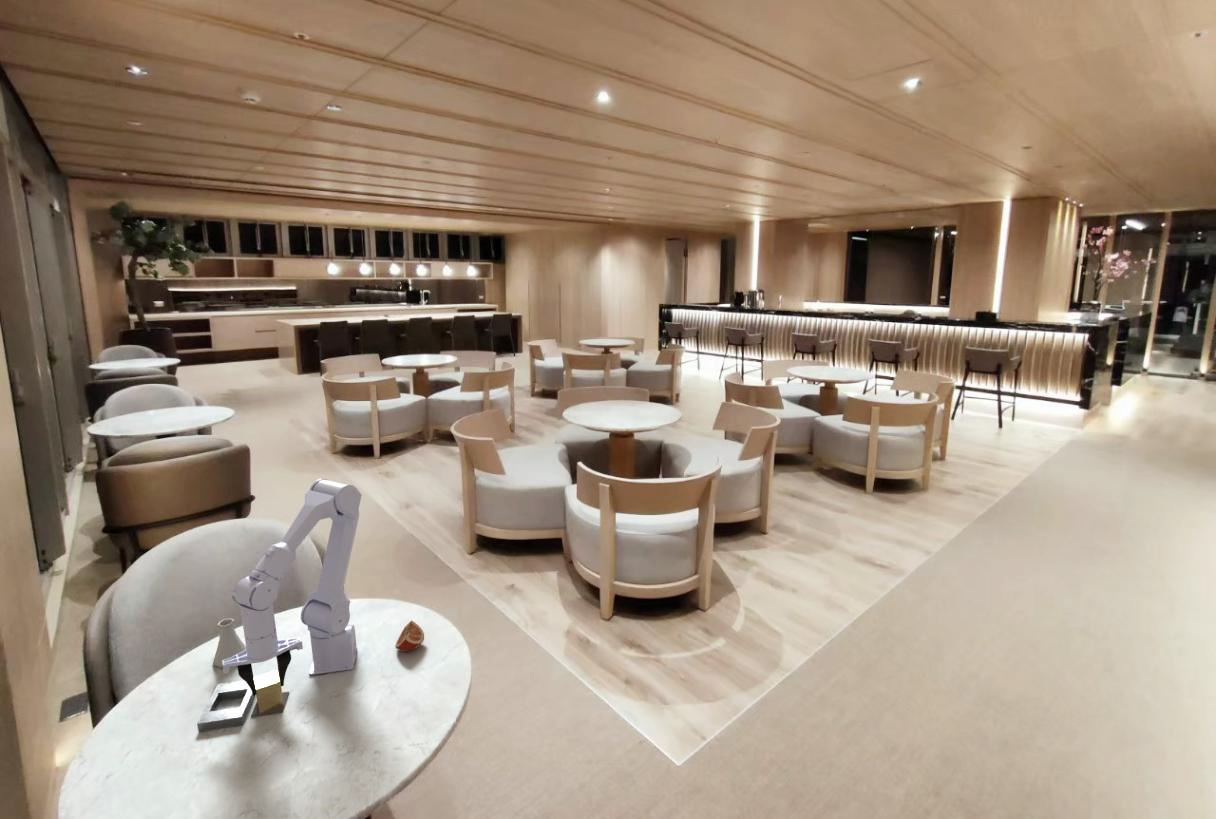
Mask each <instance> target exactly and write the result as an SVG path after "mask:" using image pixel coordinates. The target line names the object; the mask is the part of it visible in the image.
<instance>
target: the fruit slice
mask: <svg viewBox="0 0 1216 819" xmlns="http://www.w3.org/2000/svg"><path fill="white" fill-rule="evenodd" d="M424 641H425V632H424V631H423V629H422V628H421V626H419V624H417V622H415V621H413V620H410V621H409V622H408V623H407V624H406V625H405V626H404V628H403V629H402V631H401V633H400V635H399V637H398V639H397V640H396V642H395V648H396V649H397V650H399V651H401V652H409V651H410V652H411V651H412V650H414V649H416V648H418V647H419V646H421V644H422V643H423V642H424Z"/></svg>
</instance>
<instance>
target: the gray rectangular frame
mask: <svg viewBox="0 0 1216 819" xmlns="http://www.w3.org/2000/svg"><path fill="white" fill-rule="evenodd" d="M242 698H243V699H242ZM255 698H256V695H255V696H253V693H252V691H251V689H250V687H249V686H248V684H247V683H246V682H245V681H244V680H237V681H231V682H225V683H217V685H216V687H215V689H214V691H213V692H212V694H211V696H210V698H209V700H208V701H207V704H206V705H205V708H204V709H203V712H202V713H201V715H200V718H199V719H198V721H197V723H196V725H197V731H198V733H202V732H207V731H213V730H214V731H215V730H219V729H220V730H221V729H226V728H227V729H228V728H232V727H233V728H234V727H239V726H243V725H244V723H245V721H246V718H247V716H248V714H249V711H250V709H251V706H252V705H253V703H254V702H253V701H254V700H255ZM236 699H242V702H241V704H240V706H239V707H238V706H237V707H232V708H224V709H219V710H216V709H217V707H218V706H219V704H220V702H222V701H228V700H229V701H230V700H236Z"/></svg>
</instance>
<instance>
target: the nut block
mask: <svg viewBox="0 0 1216 819" xmlns="http://www.w3.org/2000/svg"><path fill="white" fill-rule="evenodd" d="M253 678H254V682H255V687H256V693H257V695H255V698H256V702H257V703H258V708H259V713H260V714H261V713H264V712H267V711H270V710H273V709H275V708H278V707H281V706H284V704H283V697H282V693H283V691H282V686H281V682H280V678H279V674H278V669H276V670H275V669H274V670H272V671H269V672H266V673H263V674H260V675H257V676H253Z"/></svg>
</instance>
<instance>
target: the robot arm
mask: <svg viewBox="0 0 1216 819" xmlns="http://www.w3.org/2000/svg"><path fill="white" fill-rule="evenodd" d="M361 500H362V494H361V491H359V489H358V488H357V487H356V486H355V485H354V484H346V483H342V482H338V481H333V480H330V479H327V478H318V479H317V480H315V481H313V483H312V484H311V486H310V488H309V490H308V491H306V493H305V494H304V504H303V506H302V508H301V510H300V511H299V513H298V514H297V515H296V517H295V519H294V520H293V522H292V524H291V525H290V527H289V528H288V530H287V532H286V533H285V534H284V536H283V538H282V539H281V541H279V542H277V543H274V544H271V545H270V547H269V548H267V549H266V550H265V552H264V553H263V554H264V555H263V556H262V557H261V558H260V560H259V561H258V563H257V564H256V565H255V567H254V568H253V570H252V571H251V572H250V573H249V574H248V576H246V577H244V578H242V579H240V580H239V581H238V582H237V584H236V585H235V586H234V590H233V594H231V599H232V601H233V602H234V603H235V604H237V605H238V608H239V611H240V614H241V621H242V629H243V635H244V641H245V646H246V649H247V650H245V651H243V652H240V653H238V654H236V655H234V656H232V657H230V658H227V659H224V660H222V664H223V668H222V669H223V674H226V673H229V672H231V670H233V669H237V672H238V676H239V677H240V679H242V681H245V682H246V683H247V684H248V686H249V687H250V689H251V691H252V693H253V696H255V697H256V695H257V693H256V687H255V682H254V672H253V667H252V664H257V663H258V664H259V663H263V662H267V661H269V660H272V659H273V658H276V663H277V670H278V674H279V678H280V682H281V687H284V686H285V678H286V673H287V670H288V667H289V665H290V663H291V661H292V655H291V654H292V653H291V652H292V651H294V650H297V651H300V650H303V648H304V646H303V640H302V637H301V636H298V637H297V636H296V637H293V638H286V639H278V634H277V628H276V627H277V626H276V619H275V618H276V617H275V613H274V612H275V610H274V605H273V603H274V602H275V601H276V600H277V598H278V595H279V589H280V586H281V581H282V580H283V578H284V577H285V575H286V574H287V573H288V571H289V570H290V569H291V567H292V565H293V564H294V563H295V562H296V559H297V553H296V550H297V549H298V548H299V546H300V545H301V544H302V543H303V541H305V539H306V538H307V536H308V535H309V534H310V533H311V532H312V530H313V529H314V528H315V526H317V524H318V523H319V521H321V520H325V519H331V521H332V522H331V527H330V532H329V536H328V540H327V545H326V548H325V554H324V559H323V563H322V568H321V573H320V577H319V582H318V586H317V588H316V589H315V590H312V591H311V592H309V593H308V594H307V600H306V601H305V604H304V605H303V607H302V610H301V611H300V621H301V623H302V624H304V625H305V626H307V631H309V637H310V645H311V654H312V662H311V665H310V669H309V672H308V674H309V676H313V675H314V676H315V675H320V674H327V673H335V672H343V671H348V670H349V671H350V670H353V669H354V666H355V661H356V659H357V658H356V657H357V653H358V647H357V637H356V628H355V625H354V624H349V622H350V619H351V613H350V604H351V600H350V598H349V597H348V595H347V593H346V592H345V591H344V588H345V583H346V577H347V574H348V569H349V564H350V560H351V555H352V550H353V547H354V542H355V541H354V540H355V536H356V532H357V527H358V523H359V519H360V506H361V505H360V504H361Z"/></svg>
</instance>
